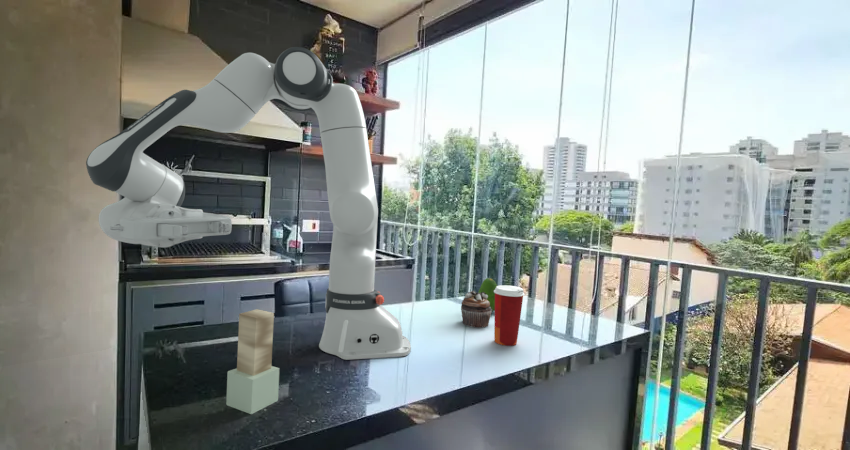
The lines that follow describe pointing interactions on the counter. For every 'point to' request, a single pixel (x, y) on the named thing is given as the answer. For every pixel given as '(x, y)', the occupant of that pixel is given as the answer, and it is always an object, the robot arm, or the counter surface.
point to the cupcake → (476, 310)
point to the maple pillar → (255, 341)
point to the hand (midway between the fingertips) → (207, 229)
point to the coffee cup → (507, 314)
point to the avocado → (489, 291)
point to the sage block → (252, 389)
